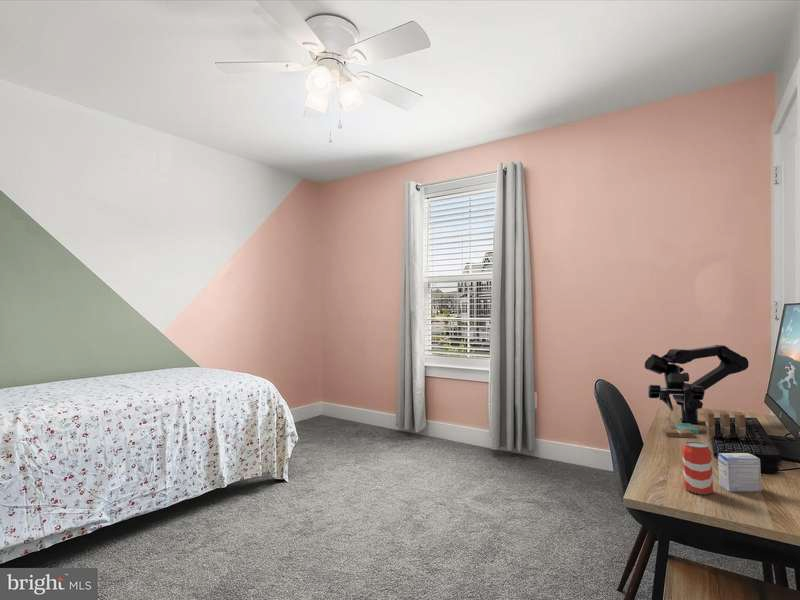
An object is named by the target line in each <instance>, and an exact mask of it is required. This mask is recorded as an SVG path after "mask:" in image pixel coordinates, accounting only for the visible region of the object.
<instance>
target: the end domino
mask: <svg viewBox="0 0 800 600" xmlns="http://www.w3.org/2000/svg"><path fill="white" fill-rule="evenodd" d="M675 428H676V429H684V430H690V431H692V432H693V433H694V435H699V434H700V429H699V428H697V427H696V426H695V425H693V424H692V423H682V422H676V423H675Z"/></svg>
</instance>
